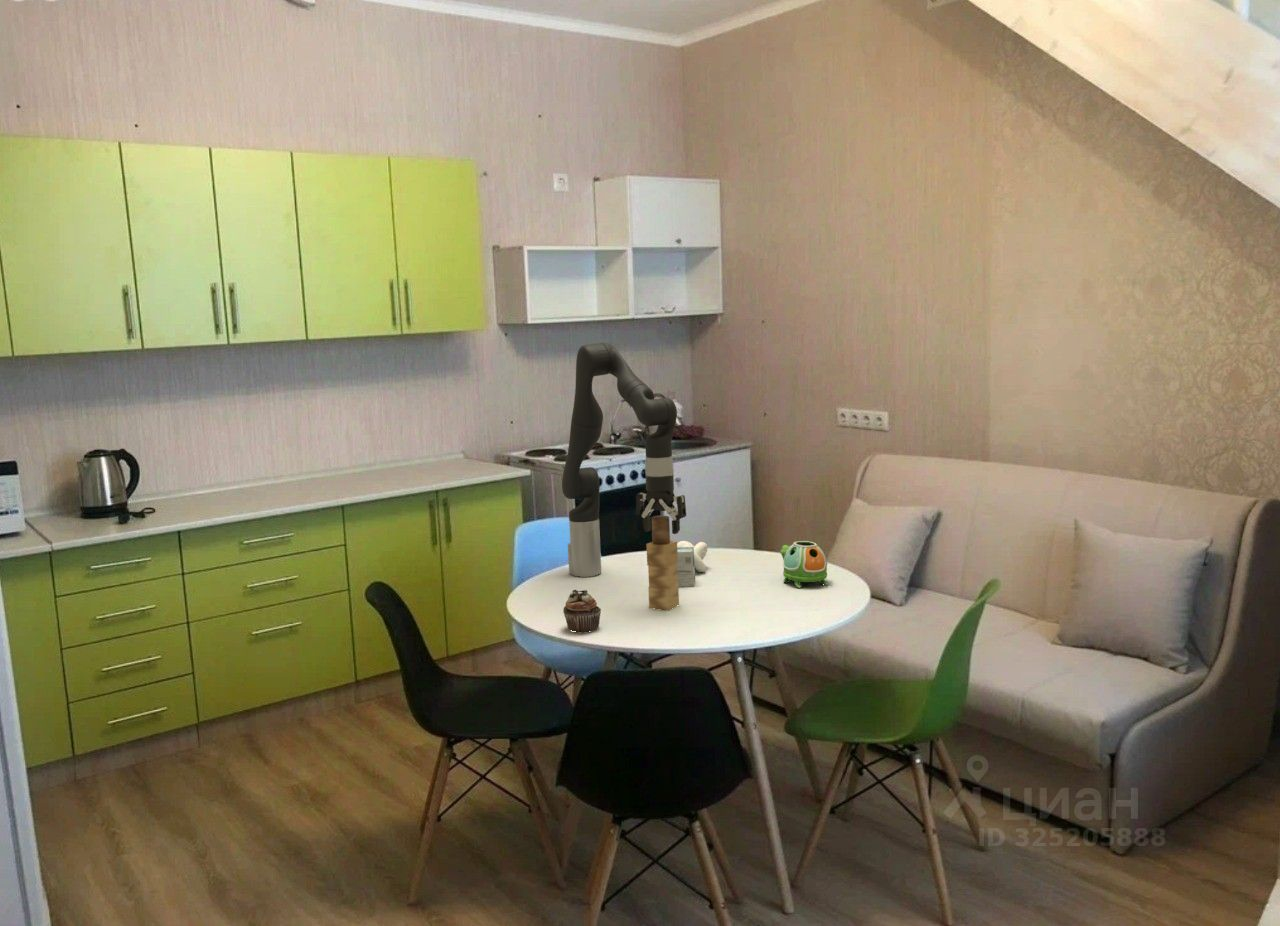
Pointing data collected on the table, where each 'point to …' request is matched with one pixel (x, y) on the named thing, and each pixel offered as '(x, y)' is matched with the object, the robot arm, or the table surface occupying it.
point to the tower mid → (662, 577)
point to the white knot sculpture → (696, 553)
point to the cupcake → (581, 612)
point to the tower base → (664, 598)
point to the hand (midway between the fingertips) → (661, 532)
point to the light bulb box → (685, 566)
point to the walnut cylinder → (660, 530)
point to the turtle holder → (804, 563)
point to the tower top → (662, 554)
